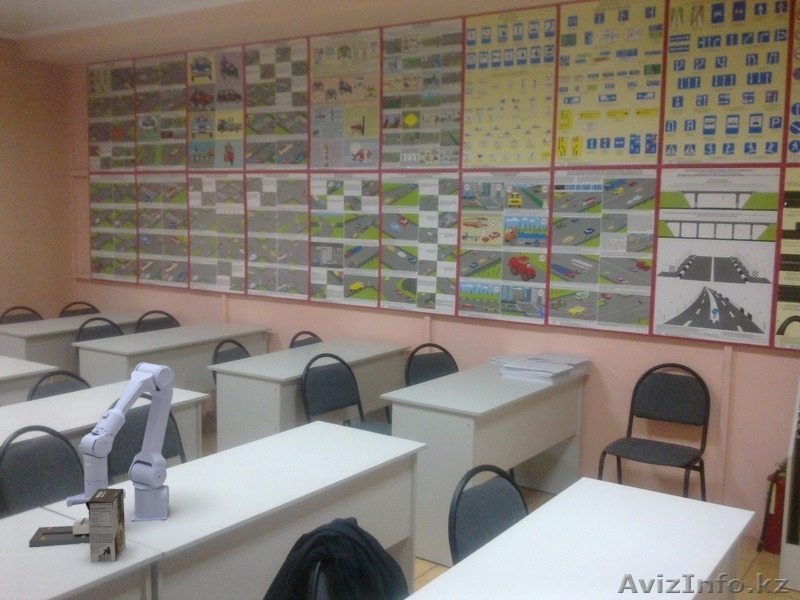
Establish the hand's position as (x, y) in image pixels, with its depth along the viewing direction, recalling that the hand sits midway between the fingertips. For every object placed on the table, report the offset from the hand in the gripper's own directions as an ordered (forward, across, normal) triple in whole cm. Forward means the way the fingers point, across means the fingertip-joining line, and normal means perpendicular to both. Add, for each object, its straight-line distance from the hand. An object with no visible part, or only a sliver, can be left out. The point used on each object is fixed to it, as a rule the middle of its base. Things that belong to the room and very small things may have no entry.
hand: (97, 527), depth 203 cm
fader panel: (+2, +7, -3) cm, 8 cm away
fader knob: (0, +3, -1) cm, 4 cm away
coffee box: (+3, -1, +14) cm, 14 cm away
